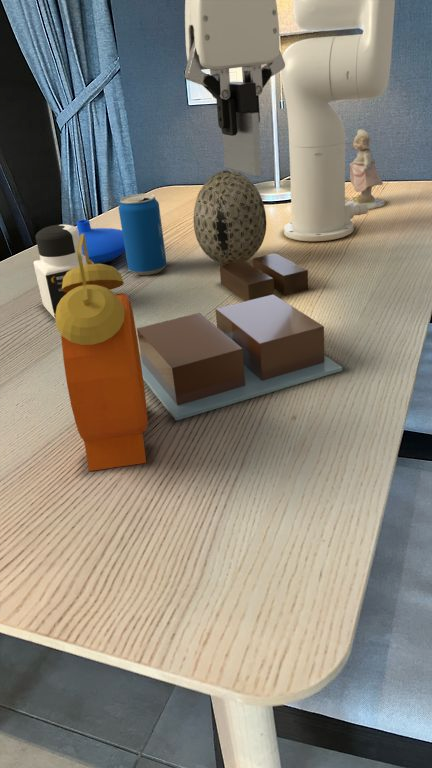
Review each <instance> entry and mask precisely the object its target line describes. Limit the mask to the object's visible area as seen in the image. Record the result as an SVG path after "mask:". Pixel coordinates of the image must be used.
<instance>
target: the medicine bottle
mask: <svg viewBox="0 0 432 768" xmlns="http://www.w3.org/2000/svg"><path fill="white" fill-rule="evenodd" d="M79 240H80V236H79V231H78V229H77V226H74V225H71V224H54V225H49V226H45V227H43V228H42V229H39V231H38V232H37V233H36V234H35V242H36V245H37V250H38V255H39V259H37V260H34V261H33V267H34V272H35V276H36V280H37V284H38V285H37V286H38V289H39V294H40V298H41V303H42V306H44V308H45V309H46V311H48V313H49V314H50V315H51V316H52V318H53V319H55V318H56V309H57V305H58V303H59V302H60V300H61V298H62V297H63V296H65V295H66V294H67V293H66V292H64V291H62V283H63V278H64V276H65V275H66V273H67V272H68V271H70V270H72V269H74V268H76V267H78V266H79V261H78V255H77V251H78V245H79ZM82 253H83V252H82V248H81V257H82V263H83V265H87V262H86V258H85V256H84V255H83V254H82ZM92 264H94V263H93V262H92Z"/></svg>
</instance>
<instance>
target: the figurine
mask: <svg viewBox="0 0 432 768" xmlns="http://www.w3.org/2000/svg"><path fill="white" fill-rule="evenodd" d="M370 137H371V136H370V135H369V133H368V132H367V131H366V130H365V129H361V128H360V129H358V130H357V133H356V136H355V137H354V140H353V144H352V148H353V149H355V150H359V151H358V152H357V153H356V157H355V158H354V160H353V161H352V162H350V163H349V167H350V168H349V169H350V175H349V179H350V183H351V184H352V186H353V189H354V191H355V192H357V193H360V194H358V195H357V196H352V197H351V200H348V201H345V203H347V204H353V205H354V206H356V205H359V204H363V203H366V204H367V205H368V210H372V209H373V210H374V209H377V208H381V207H384V206H385V205H386V203H385V200H383V199H381V198H378V197H375V196H374V195H372V188H374V187H375V186H384V184H383V180H382V179H381V176H380V174H379V171H378V169H377V166H376V160H375V159H374V158H373V153H372V150H371V147H370V143H371V138H370Z"/></svg>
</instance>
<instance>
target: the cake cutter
mask: <svg viewBox="0 0 432 768" xmlns="http://www.w3.org/2000/svg"><path fill="white" fill-rule="evenodd" d="M230 93H231V99H234V100H235V103H236V116H237V134H236V135H234V136H230V135H225V134H223V133H222V132H221V134H222V146H223V160H224V168H227V169H228V170H232V171H236V172H239V173H241V174H244V175H249V176H251V177H254V178H257V177H262V159H261V139H260V122H259V116H258V113H257V112H254V111H257V99H256V83H251V82H243V81H230Z"/></svg>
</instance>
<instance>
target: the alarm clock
mask: <svg viewBox="0 0 432 768" xmlns="http://www.w3.org/2000/svg"><path fill="white" fill-rule="evenodd" d="M82 242H83V248H84V253H85V258H86V262H87V265H83V263H82V257H81V248H82ZM77 255H78V261H79V266H78V267H76V268H74V269H72V270H70V271H68V272H67V273H66V275H65V276H64V278H63V283H62V291H64V292H66V293H67V294H66V295H65V296H63V297H62V298H61V300H60V302H59V303H58V305H57V309H56V318H54V321H55V325H56V329H57V331H58V332H59V333H60V339H61V349H62V358H63V366H64V373H65V374H64V375H65V379H66V386H67V390H68V396H69V401H70V407H71V411H72V415H73V419H74V422H75V426H76V428H77V431H78V433H79V436H80V438H81V440H82V441H83V443H84V449H85V455H86V462H87V468H88V472H93V471H99V470H100V471H101V470H107V469H112V468H119V467H120V468H121V467H128V466H133V465H134V466H135V465H140V464H146V463H147V457H146V456H147V455H146V447H145V439H144V432H146V431H147V428H148V409H147V408H148V407H147V400H146V399H147V398H146V390H145V381H144V379H143V374H142V367H141V360H140V356H141V352H140V346H139V339H138V333H137V328H136V322H135V317H134V312H133V311H134V310H133V306H132V304H131V302H132V301H131V300H130V298H129V297H128V295H127V293H123V292H120V293H119V292H118V293H115V292H114V291H113V290H115V289H117V288H120V287H122V286H124V284H125V282H124V278H123V276H122V274H121V272H120V271H119V270H117V268H116V267H114V266H113V265H108V264H105V263H102V264H92V260H89V257H88V251H87V246H86V241H85V236H84V234H80V240H79V245H78V251H77Z"/></svg>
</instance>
